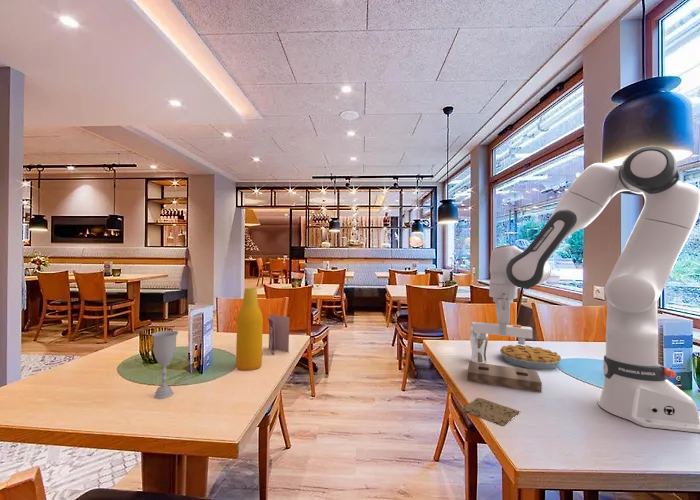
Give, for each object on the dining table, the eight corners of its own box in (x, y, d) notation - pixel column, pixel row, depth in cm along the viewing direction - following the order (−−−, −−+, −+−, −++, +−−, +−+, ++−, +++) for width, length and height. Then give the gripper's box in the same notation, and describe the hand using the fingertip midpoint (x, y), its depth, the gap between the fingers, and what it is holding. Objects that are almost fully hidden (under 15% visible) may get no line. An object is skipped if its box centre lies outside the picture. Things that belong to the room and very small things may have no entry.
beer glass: (484, 359, 136) (485, 322, 136) (490, 364, 129) (490, 326, 129) (467, 358, 136) (468, 322, 137) (472, 363, 129) (472, 325, 130)
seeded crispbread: (521, 413, 90) (521, 409, 90) (504, 428, 82) (504, 424, 82) (479, 398, 99) (479, 395, 99) (459, 411, 90) (459, 407, 90)
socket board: (536, 379, 114) (536, 370, 114) (541, 392, 103) (541, 382, 103) (469, 369, 123) (469, 361, 123) (467, 380, 112) (467, 371, 112)
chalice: (152, 391, 98) (154, 331, 99) (178, 388, 101) (179, 329, 101) (147, 401, 92) (149, 337, 92) (174, 398, 94) (176, 335, 94)
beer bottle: (230, 369, 118) (232, 288, 119) (244, 361, 127) (246, 286, 128) (253, 372, 116) (255, 289, 116) (266, 363, 125) (268, 287, 125)
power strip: (530, 343, 112) (531, 325, 112) (532, 346, 108) (532, 327, 108) (474, 336, 119) (474, 320, 119) (473, 339, 115) (474, 322, 115)
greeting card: (266, 348, 145) (267, 314, 145) (283, 346, 148) (284, 313, 149) (271, 355, 135) (272, 319, 135) (289, 353, 138) (290, 318, 138)
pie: (572, 373, 121) (572, 360, 121) (509, 369, 124) (509, 356, 125) (547, 355, 143) (547, 344, 143) (493, 352, 146) (493, 341, 146)
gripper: (515, 296, 103) (514, 340, 102) (511, 290, 121) (510, 327, 121) (493, 294, 105) (492, 338, 105) (492, 289, 124) (492, 325, 124)
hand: (502, 332), depth 113 cm, fingers closed on power strip, 4 cm apart
